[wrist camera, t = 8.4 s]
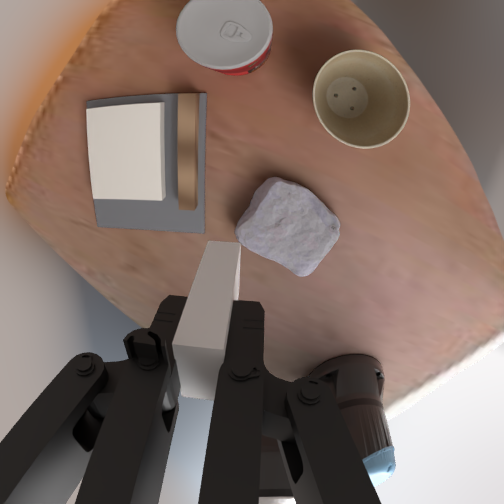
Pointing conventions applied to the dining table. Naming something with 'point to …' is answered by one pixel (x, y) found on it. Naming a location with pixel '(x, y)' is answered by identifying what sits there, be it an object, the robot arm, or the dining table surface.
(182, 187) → the strip
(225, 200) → the dining table surface
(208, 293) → the robot arm
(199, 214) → the mat
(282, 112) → the dining table surface
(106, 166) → the tile
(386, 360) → the dining table surface
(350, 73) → the flower pot
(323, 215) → the stone block
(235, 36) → the canned food
